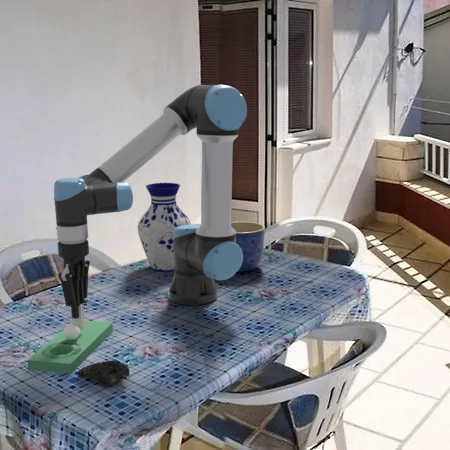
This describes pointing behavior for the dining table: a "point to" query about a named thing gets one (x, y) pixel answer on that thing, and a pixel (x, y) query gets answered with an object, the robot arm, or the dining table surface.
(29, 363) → the green rectangular board
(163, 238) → the vase
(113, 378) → the stone
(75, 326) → the ball
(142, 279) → the dining table surface
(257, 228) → the planter
